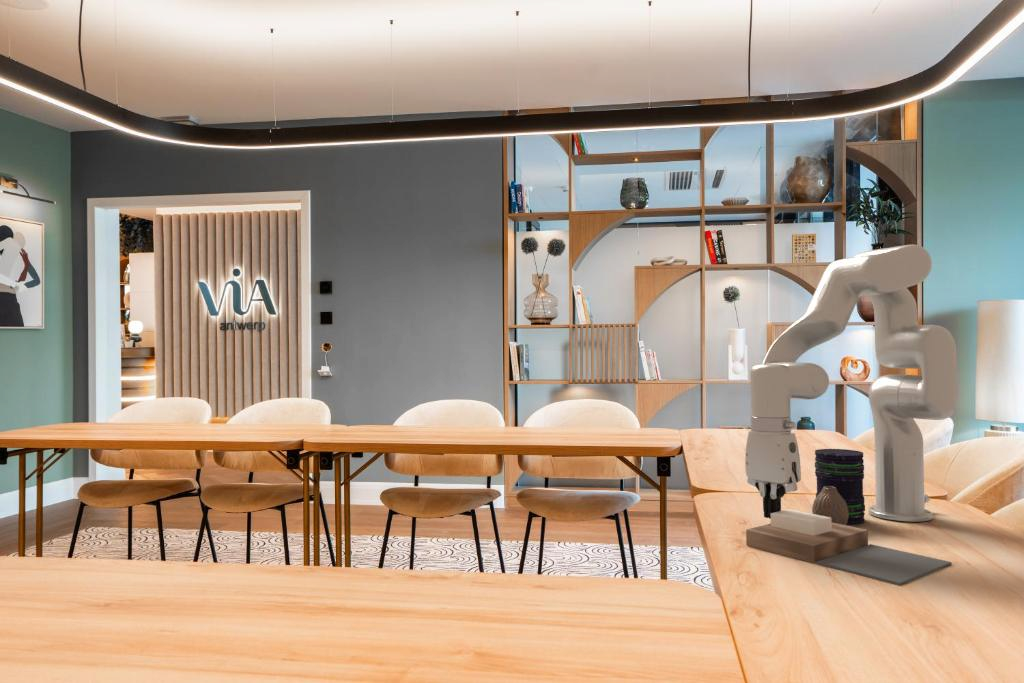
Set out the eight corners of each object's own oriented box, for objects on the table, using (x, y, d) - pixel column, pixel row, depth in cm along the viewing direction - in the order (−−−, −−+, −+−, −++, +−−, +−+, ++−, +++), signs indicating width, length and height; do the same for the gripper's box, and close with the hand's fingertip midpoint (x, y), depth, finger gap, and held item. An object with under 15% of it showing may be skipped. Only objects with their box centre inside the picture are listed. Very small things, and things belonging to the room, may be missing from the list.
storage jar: (828, 512, 158) (827, 447, 158) (873, 520, 150) (871, 451, 150) (807, 519, 151) (806, 451, 152) (852, 528, 144) (851, 456, 144)
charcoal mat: (870, 546, 130) (870, 544, 130) (951, 564, 119) (951, 562, 119) (817, 563, 120) (816, 561, 120) (899, 585, 109) (899, 582, 109)
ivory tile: (788, 521, 138) (788, 509, 138) (831, 530, 130) (831, 517, 130) (770, 526, 134) (770, 513, 134) (813, 535, 127) (813, 522, 127)
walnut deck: (800, 530, 142) (800, 516, 142) (868, 545, 131) (867, 529, 131) (746, 545, 132) (746, 529, 132) (814, 563, 120) (814, 545, 120)
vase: (805, 527, 145) (804, 485, 145) (828, 523, 148) (827, 482, 148) (832, 535, 139) (831, 491, 139) (856, 531, 141) (855, 488, 142)
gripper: (816, 427, 134) (817, 521, 133) (750, 421, 146) (752, 508, 146) (793, 430, 129) (794, 527, 129) (727, 423, 142) (729, 513, 142)
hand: (772, 517), depth 137 cm, fingers closed
